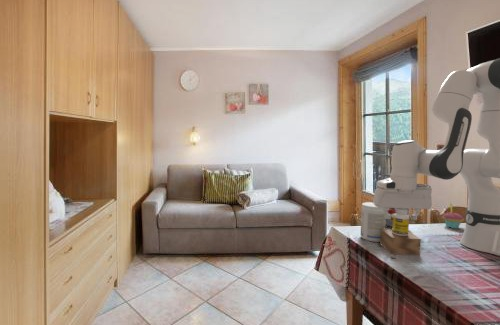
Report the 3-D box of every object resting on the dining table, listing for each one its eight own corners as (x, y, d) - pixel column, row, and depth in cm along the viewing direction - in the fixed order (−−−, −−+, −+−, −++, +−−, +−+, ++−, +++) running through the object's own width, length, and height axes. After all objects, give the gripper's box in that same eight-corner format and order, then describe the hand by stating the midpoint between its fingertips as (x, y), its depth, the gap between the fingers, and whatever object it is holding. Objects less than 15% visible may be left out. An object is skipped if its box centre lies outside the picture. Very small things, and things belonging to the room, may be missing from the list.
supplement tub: (389, 239, 115) (391, 205, 114) (376, 244, 109) (378, 208, 108) (368, 233, 123) (370, 201, 122) (355, 237, 117) (356, 203, 116)
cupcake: (437, 224, 138) (439, 201, 137) (452, 224, 139) (454, 201, 138) (452, 230, 129) (453, 205, 128) (468, 229, 130) (470, 205, 129)
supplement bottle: (392, 235, 103) (394, 209, 102) (391, 230, 108) (392, 206, 107) (409, 237, 101) (410, 211, 100) (406, 232, 106) (408, 208, 105)
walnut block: (405, 244, 109) (406, 230, 109) (419, 255, 99) (420, 239, 99) (380, 243, 110) (381, 229, 110) (391, 253, 100) (392, 238, 100)
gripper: (426, 182, 105) (424, 217, 106) (372, 181, 107) (370, 216, 108) (437, 185, 99) (434, 222, 100) (379, 184, 100) (377, 220, 101)
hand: (400, 219), depth 104 cm, fingers open, 8 cm apart
